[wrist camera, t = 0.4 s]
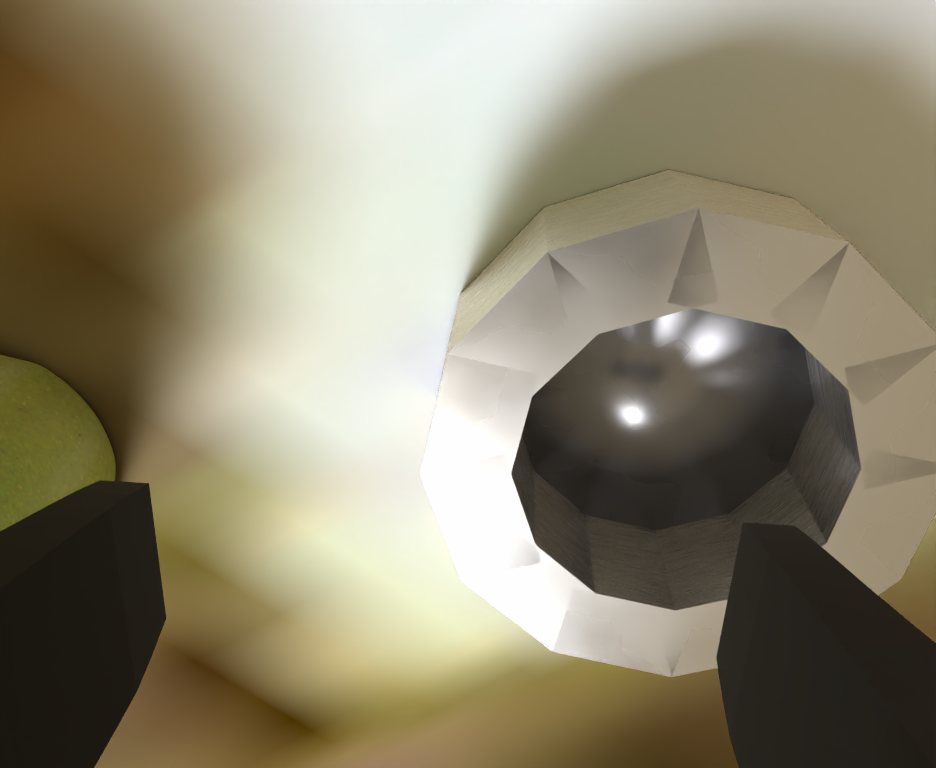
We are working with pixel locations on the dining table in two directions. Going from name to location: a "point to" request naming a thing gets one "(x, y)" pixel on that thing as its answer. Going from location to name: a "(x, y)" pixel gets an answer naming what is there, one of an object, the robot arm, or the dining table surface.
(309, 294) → the dining table surface
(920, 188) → the dining table surface
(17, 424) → the plant pot
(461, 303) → the faceted ring
